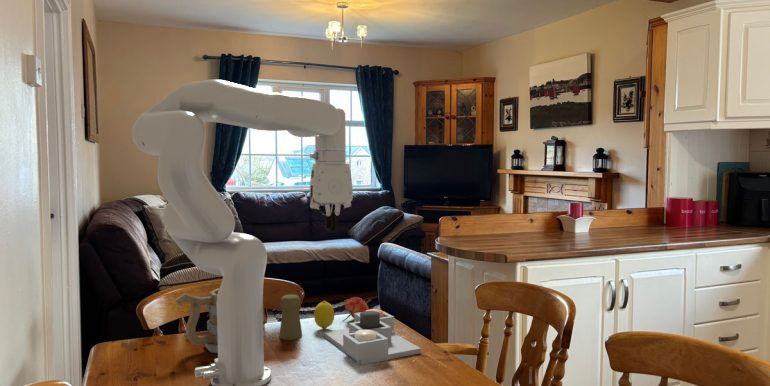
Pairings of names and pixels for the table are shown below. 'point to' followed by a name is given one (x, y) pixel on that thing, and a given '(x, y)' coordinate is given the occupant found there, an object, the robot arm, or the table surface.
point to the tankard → (195, 302)
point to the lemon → (324, 314)
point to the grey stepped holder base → (372, 342)
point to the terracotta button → (377, 311)
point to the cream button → (365, 335)
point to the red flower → (356, 306)
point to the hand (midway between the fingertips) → (331, 230)
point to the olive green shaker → (290, 318)
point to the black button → (369, 320)
